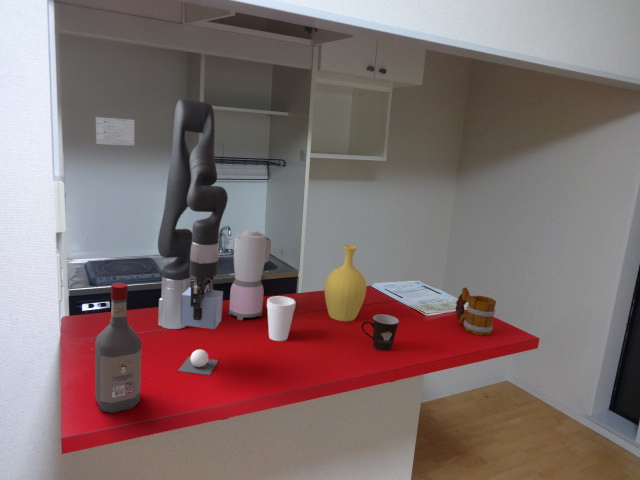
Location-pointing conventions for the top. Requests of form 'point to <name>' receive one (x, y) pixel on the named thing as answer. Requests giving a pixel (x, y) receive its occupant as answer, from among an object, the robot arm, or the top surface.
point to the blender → (248, 273)
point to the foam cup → (280, 316)
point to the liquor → (117, 358)
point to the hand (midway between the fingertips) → (201, 314)
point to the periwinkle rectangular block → (209, 310)
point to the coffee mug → (383, 331)
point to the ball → (199, 358)
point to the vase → (345, 289)
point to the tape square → (203, 370)
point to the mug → (476, 313)
